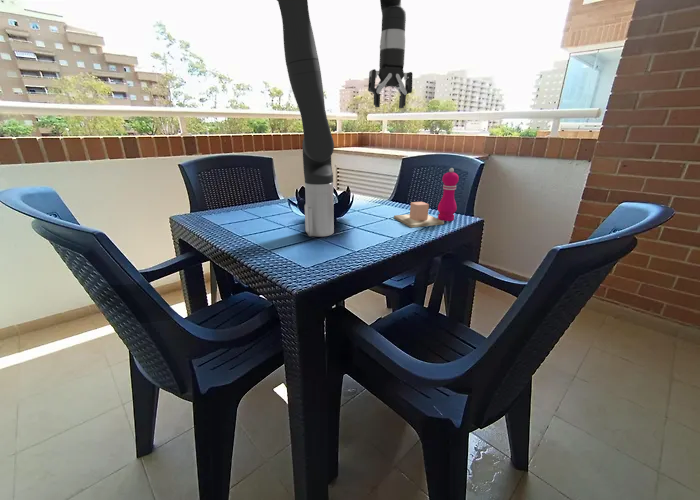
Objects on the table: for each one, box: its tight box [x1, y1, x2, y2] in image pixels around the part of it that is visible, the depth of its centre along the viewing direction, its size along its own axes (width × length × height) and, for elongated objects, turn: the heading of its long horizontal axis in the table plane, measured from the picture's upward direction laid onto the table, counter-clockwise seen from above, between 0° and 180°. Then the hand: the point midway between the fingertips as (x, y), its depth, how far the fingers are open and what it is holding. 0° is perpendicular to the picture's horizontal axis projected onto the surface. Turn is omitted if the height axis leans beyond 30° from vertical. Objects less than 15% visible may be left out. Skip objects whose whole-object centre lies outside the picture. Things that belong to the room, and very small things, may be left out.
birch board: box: [393, 213, 445, 228], centre depth 124 cm, size 14×14×1 cm
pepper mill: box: [437, 167, 460, 222], centre depth 124 cm, size 7×7×20 cm
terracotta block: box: [409, 201, 430, 221], centre depth 123 cm, size 5×5×6 cm
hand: (389, 107), depth 103 cm, fingers open, 8 cm apart
